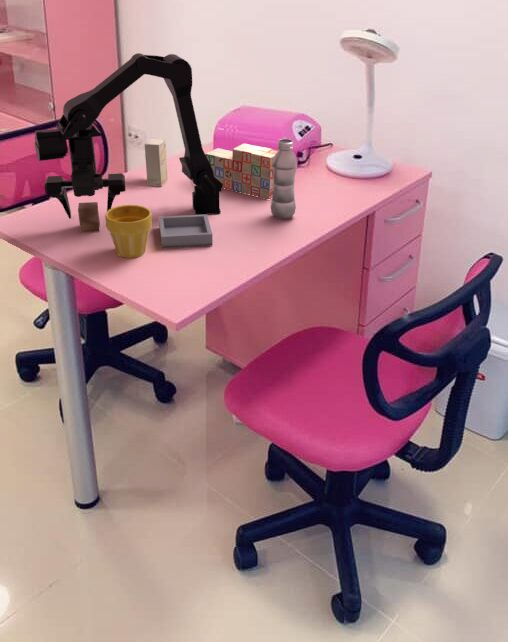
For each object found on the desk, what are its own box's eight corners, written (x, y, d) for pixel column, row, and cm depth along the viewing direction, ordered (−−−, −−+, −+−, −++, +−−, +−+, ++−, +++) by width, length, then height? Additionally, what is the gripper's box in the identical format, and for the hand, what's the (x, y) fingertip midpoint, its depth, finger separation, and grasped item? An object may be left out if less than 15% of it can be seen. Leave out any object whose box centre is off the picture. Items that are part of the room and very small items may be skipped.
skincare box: (161, 187, 205) (159, 145, 198) (146, 186, 205) (143, 144, 199) (168, 179, 210) (166, 138, 204) (153, 178, 211) (151, 137, 204)
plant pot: (157, 259, 166) (154, 219, 161) (111, 264, 163) (107, 224, 158) (149, 240, 174) (147, 202, 169) (106, 245, 172) (102, 206, 166)
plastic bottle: (299, 214, 189) (302, 139, 179) (289, 223, 184) (292, 146, 174) (276, 210, 192) (279, 135, 181) (266, 219, 186) (268, 142, 176)
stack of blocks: (205, 184, 207) (204, 142, 201) (218, 178, 212) (217, 137, 205) (269, 200, 198) (270, 156, 191) (281, 193, 202) (282, 150, 196)
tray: (207, 225, 182) (207, 214, 181) (212, 245, 172) (212, 234, 171) (159, 227, 181) (158, 216, 179) (161, 248, 170) (161, 236, 169)
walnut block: (99, 224, 182) (97, 201, 179) (99, 231, 178) (97, 208, 175) (81, 225, 181) (78, 202, 178) (80, 232, 178) (78, 209, 175)
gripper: (38, 168, 162) (47, 232, 170) (122, 165, 165) (128, 228, 173) (42, 152, 172) (51, 214, 180) (122, 150, 174) (127, 210, 182)
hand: (89, 217), depth 178 cm, fingers open, 9 cm apart
